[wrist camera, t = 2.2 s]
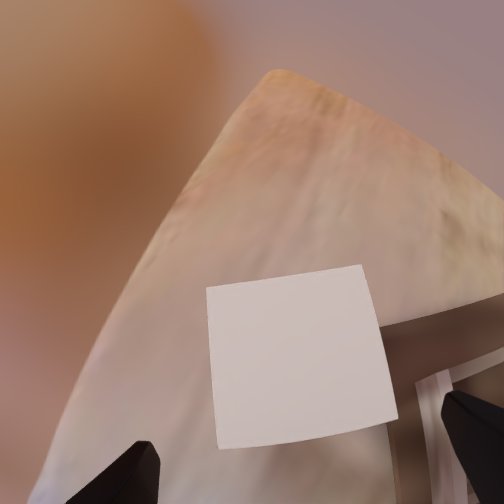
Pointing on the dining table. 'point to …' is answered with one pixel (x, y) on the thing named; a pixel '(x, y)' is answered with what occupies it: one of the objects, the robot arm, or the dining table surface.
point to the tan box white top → (296, 359)
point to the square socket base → (440, 394)
